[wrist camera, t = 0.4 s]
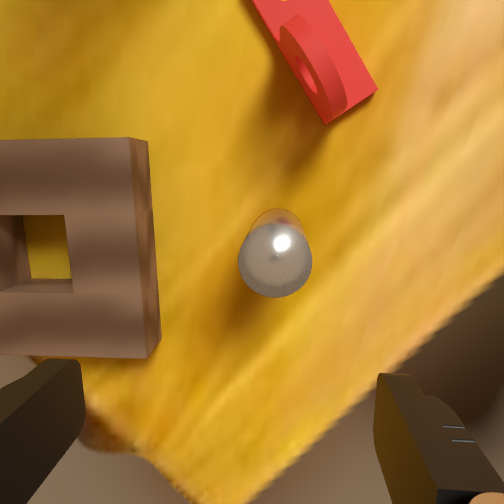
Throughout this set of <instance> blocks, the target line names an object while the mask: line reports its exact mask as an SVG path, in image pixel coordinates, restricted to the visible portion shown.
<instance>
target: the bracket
mask: <svg viewBox="0 0 504 504" xmlns="http://www.w3.org/2000/svg"><path fill="white" fill-rule="evenodd" d="M251 2H252V3H253V5H254V7H255V9H256V10H257V12H258V14H259V15H260V17H261V19H262V20H263V22H264V24H265V25H266V27H267V29H268V30H269V32H270V34H271V35H272V37H273V39H274V41H275V42H276V44H277V46H278V47H279V49H280V51H281V52H282V54H283V56H284V57H285V59H286V61H287V62H288V64H289V66H290V67H291V69H292V71H293V73H294V74H295V76H296V78H297V79H298V81H299V83H300V84H301V86H302V88H303V89H304V91H305V93H306V94H307V96H308V98H309V99H310V101H311V103H312V105H313V106H314V108H315V110H316V111H317V113H318V115H319V116H320V118H321V120H322V121H323V123H324V125H326V124H328V123H329V122H331V121H332V120H334V119H335V118H337V117H338V116H340V115H341V114H343V113H344V112H346V111H347V110H349V109H350V108H352V107H353V106H355V105H356V104H358V103H359V102H361V101H362V100H364V99H365V98H367V97H368V96H370V95H371V94H373V93H374V92H376V91H377V90H378V88H377V86H376V85H375V83H374V81H373V79H372V78H371V76H370V74H369V72H368V70H367V69H366V67H365V65H364V63H363V62H362V60H361V58H360V56H359V54H358V53H357V51H356V49H355V47H354V46H353V44H352V42H351V40H350V38H349V37H348V35H347V33H346V31H345V30H344V28H343V26H342V24H341V22H340V21H339V19H338V17H337V15H336V14H335V12H334V10H333V8H332V6H331V5H330V3H329V1H328V0H288V1H281V0H251Z"/></svg>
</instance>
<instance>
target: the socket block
mask: <svg viewBox="0 0 504 504" xmlns="http://www.w3.org/2000/svg"><path fill="white" fill-rule="evenodd" d="M22 215H64V218H65V226H66V234H67V243H68V251H69V259H70V267H71V275H72V279H31V274H30V267H29V260H28V254H27V247H26V240H25V233H24V227H23V220H22ZM161 338H162V337H161V323H160V309H159V295H158V281H157V267H156V253H155V239H154V225H153V211H152V197H151V183H150V169H149V155H148V141H144V140H139V139H134V138H129V137H123V138H77V139H32V140H0V355H34V356H68V357H102V358H137V359H147V357H148V356H149V355H150V353H151V352H152V351H153V349H154V348H155V346H156V345H157V344H158V342H159V341H160V339H161Z"/></svg>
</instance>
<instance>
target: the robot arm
mask: <svg viewBox="0 0 504 504" xmlns="http://www.w3.org/2000/svg"><path fill="white" fill-rule="evenodd" d="M85 415H86V409H85V400H84V391H83V382H82V374H81V367H80V364H79V362H78V361H77V360H73V359H46V360H44V361H43V362H42V363H40V364H39V365H38V366H37V367H35V368H34V369H33V370H32V371H31V372H29V373H28V374H27V375H25V376H24V377H22V378H20V379H18V380H16V381H14V382H12V383H10V384H8V385H6V386H4V387H2V388H1V389H0V504H27V502H28V501H29V500H30V498H31V497H32V496H33V494H34V493H35V492H36V490H37V489H38V488H39V487H40V485H41V484H42V483H43V481H44V480H45V479H46V477H47V476H48V475H49V473H50V472H51V471H52V470H53V468H54V467H55V466H56V464H57V463H58V461H59V460H60V459H61V458H62V456H63V455H64V454H65V453H66V451H67V450H68V449H69V447H70V446H71V445H72V443H73V442H74V441H75V439H76V438H77V437H78V435H79V434H80V432H81V430H82V428H83V425H84V421H85ZM373 426H374V427H373V432H374V433H373V434H374V444H375V450H376V454H377V457H378V460H379V463H380V466H381V469H382V473H383V475H384V479H385V482H386V485H387V488H388V491H389V494H390V497H391V500H392V503H393V504H504V482H503V481H502V479H501V478H500V476H499V475H498V474H497V472H496V471H495V469H494V468H493V466H492V465H491V463H490V462H489V461H488V459H487V458H486V456H485V455H484V453H483V452H482V451H481V449H480V448H479V446H478V445H477V444H475V443H474V439H473V438H472V436H471V435H470V433H469V432H468V431H467V429H465V428H464V425H463V423H462V422H461V420H460V419H459V418H458V416H457V415H456V413H455V412H454V410H453V409H451V408H450V407H449V406H447V405H446V404H445V403H443V402H442V401H441V400H440V399H438V398H437V397H436V396H426V395H423V393H422V391H421V390H420V388H419V387H418V385H417V383H416V381H415V380H414V378H413V377H412V376H411V375H410V374H394V373H380V374H379V375H378V378H377V388H376V400H375V413H374V425H373Z"/></svg>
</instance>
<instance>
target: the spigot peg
mask: <svg viewBox="0 0 504 504" xmlns="http://www.w3.org/2000/svg"><path fill="white" fill-rule="evenodd" d="M238 265H239V271H240V274H241V276H242V278H243V280H244V281H245V283H246V284H247V285H248V286H249V287H250V288H251V289H252V290H254V291H255V292H257V293H259V294H261V295H264V296H267V297H284V296H287V295H290V294H292V293H294V292H296V291H297V290H299V289H300V288H301V287H302V286H303V285H304V284H305V282H306V281H307V279H308V277H309V275H310V273H311V269H312V255H311V251H310V248H309V245H308V242H307V239H306V236H305V233H304V230H303V227H302V224H301V222H300V220H299V219H298V218H297V217H296V216H295V215H294V214H293V213H291V212H290V211H288V210H285V209H271V210H268V211H266V212H264V213H262V214H261V215H260V216H259V217H258V218H257V219H256V221H255V223H254V224H253V226H252V228H251V230H250V232H249V234H248V235H247V237H246V239H245V241H244V243H243V245H242V247H241V249H240V252H239V257H238Z"/></svg>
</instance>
